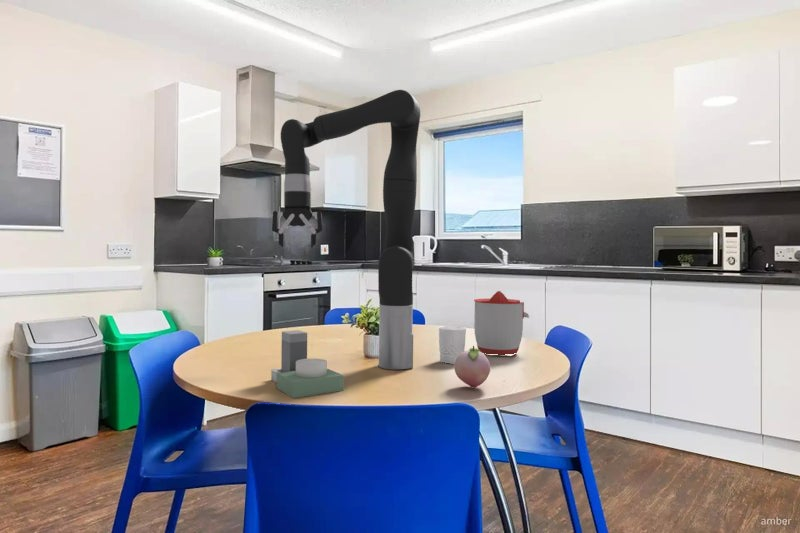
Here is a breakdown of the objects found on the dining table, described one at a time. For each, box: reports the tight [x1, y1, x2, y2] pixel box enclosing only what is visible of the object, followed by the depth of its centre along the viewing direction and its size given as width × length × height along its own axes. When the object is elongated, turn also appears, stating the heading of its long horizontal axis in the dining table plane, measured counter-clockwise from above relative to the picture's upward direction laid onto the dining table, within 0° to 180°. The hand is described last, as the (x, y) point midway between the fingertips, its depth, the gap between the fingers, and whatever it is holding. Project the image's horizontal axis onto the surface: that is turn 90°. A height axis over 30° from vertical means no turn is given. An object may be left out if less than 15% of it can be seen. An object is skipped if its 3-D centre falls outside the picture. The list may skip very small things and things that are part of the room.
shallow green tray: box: [270, 357, 345, 399], centre depth 125 cm, size 18×12×6 cm, turn 35°
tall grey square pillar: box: [280, 329, 308, 372], centre depth 129 cm, size 5×4×12 cm
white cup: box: [438, 325, 467, 364], centre depth 155 cm, size 8×8×10 cm
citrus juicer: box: [473, 290, 530, 355], centre depth 168 cm, size 16×17×20 cm
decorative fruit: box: [453, 345, 491, 388], centre depth 125 cm, size 9×8×10 cm
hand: (297, 247), depth 154 cm, fingers open, 8 cm apart
